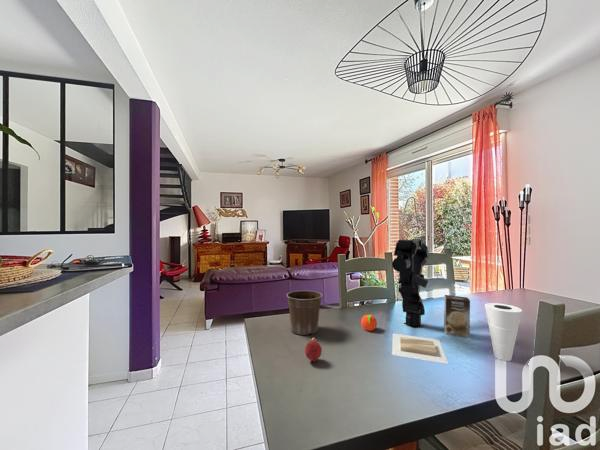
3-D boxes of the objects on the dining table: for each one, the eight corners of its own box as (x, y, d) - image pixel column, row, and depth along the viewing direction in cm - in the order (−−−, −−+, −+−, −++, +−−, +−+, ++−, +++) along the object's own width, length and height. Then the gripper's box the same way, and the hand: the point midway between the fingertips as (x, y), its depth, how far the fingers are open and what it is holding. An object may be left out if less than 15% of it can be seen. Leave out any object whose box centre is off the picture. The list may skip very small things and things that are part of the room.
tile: (400, 336, 106) (400, 346, 98) (433, 341, 102) (436, 351, 94) (400, 340, 106) (400, 350, 98) (433, 345, 102) (436, 356, 94)
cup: (477, 350, 99) (477, 302, 99) (506, 350, 99) (506, 302, 99) (498, 365, 89) (498, 312, 89) (530, 365, 88) (530, 312, 88)
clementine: (377, 335, 113) (377, 318, 113) (361, 333, 114) (361, 317, 114) (376, 328, 121) (376, 312, 121) (360, 326, 122) (360, 311, 122)
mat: (392, 334, 114) (392, 333, 114) (439, 340, 107) (439, 339, 107) (391, 356, 95) (391, 354, 95) (448, 365, 88) (448, 363, 88)
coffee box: (445, 335, 113) (445, 298, 113) (443, 330, 118) (443, 294, 119) (470, 339, 109) (470, 300, 109) (467, 333, 115) (467, 296, 115)
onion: (316, 367, 87) (316, 343, 87) (301, 362, 90) (301, 339, 90) (324, 359, 92) (324, 337, 92) (310, 355, 95) (310, 333, 95)
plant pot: (291, 322, 128) (291, 289, 128) (324, 324, 125) (324, 290, 125) (282, 335, 112) (282, 298, 112) (319, 339, 109) (319, 300, 109)
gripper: (429, 273, 102) (429, 313, 102) (424, 266, 119) (424, 300, 119) (398, 271, 106) (398, 310, 106) (398, 265, 123) (398, 298, 123)
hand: (406, 304), depth 114 cm, fingers closed
